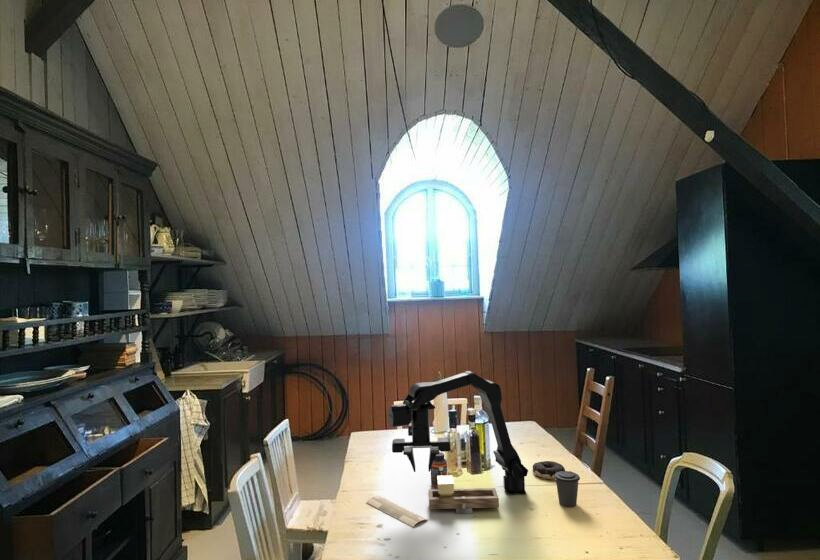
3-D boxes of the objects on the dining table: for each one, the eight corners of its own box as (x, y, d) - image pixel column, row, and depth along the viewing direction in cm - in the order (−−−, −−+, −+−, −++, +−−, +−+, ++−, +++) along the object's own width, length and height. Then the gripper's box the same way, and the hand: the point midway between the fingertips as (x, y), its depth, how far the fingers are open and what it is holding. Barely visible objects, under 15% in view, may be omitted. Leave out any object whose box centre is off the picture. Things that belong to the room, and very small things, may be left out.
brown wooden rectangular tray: (495, 500, 168) (494, 486, 168) (499, 513, 159) (498, 498, 159) (428, 502, 169) (428, 488, 169) (429, 514, 160) (429, 500, 160)
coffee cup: (581, 500, 167) (580, 469, 167) (580, 511, 159) (579, 479, 159) (555, 497, 170) (554, 467, 169) (554, 508, 162) (553, 476, 162)
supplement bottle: (446, 489, 179) (445, 457, 179) (429, 488, 180) (428, 456, 180) (448, 482, 184) (447, 451, 184) (432, 481, 186) (431, 450, 186)
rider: (452, 493, 167) (452, 475, 167) (454, 502, 161) (453, 483, 161) (437, 493, 167) (437, 475, 167) (438, 502, 161) (438, 484, 161)
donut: (559, 483, 181) (559, 472, 181) (527, 476, 188) (527, 466, 188) (568, 472, 191) (568, 462, 191) (538, 467, 197) (537, 456, 197)
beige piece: (427, 523, 156) (427, 517, 156) (410, 531, 151) (410, 525, 151) (380, 499, 173) (380, 494, 173) (363, 506, 169) (363, 500, 169)
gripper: (448, 415, 172) (449, 461, 172) (393, 417, 172) (394, 462, 172) (449, 425, 161) (451, 474, 161) (391, 426, 161) (392, 475, 161)
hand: (422, 471), depth 164 cm, fingers open, 4 cm apart
